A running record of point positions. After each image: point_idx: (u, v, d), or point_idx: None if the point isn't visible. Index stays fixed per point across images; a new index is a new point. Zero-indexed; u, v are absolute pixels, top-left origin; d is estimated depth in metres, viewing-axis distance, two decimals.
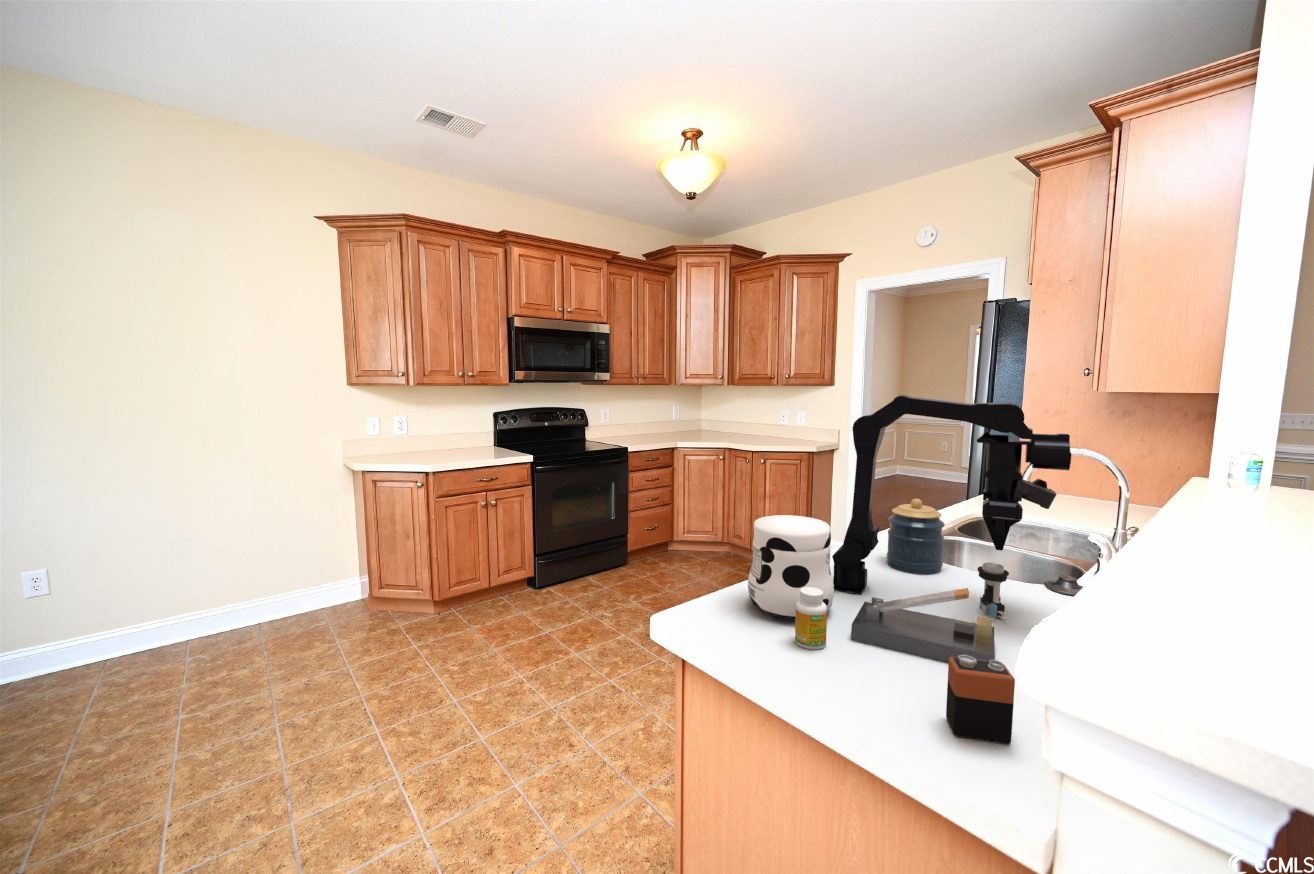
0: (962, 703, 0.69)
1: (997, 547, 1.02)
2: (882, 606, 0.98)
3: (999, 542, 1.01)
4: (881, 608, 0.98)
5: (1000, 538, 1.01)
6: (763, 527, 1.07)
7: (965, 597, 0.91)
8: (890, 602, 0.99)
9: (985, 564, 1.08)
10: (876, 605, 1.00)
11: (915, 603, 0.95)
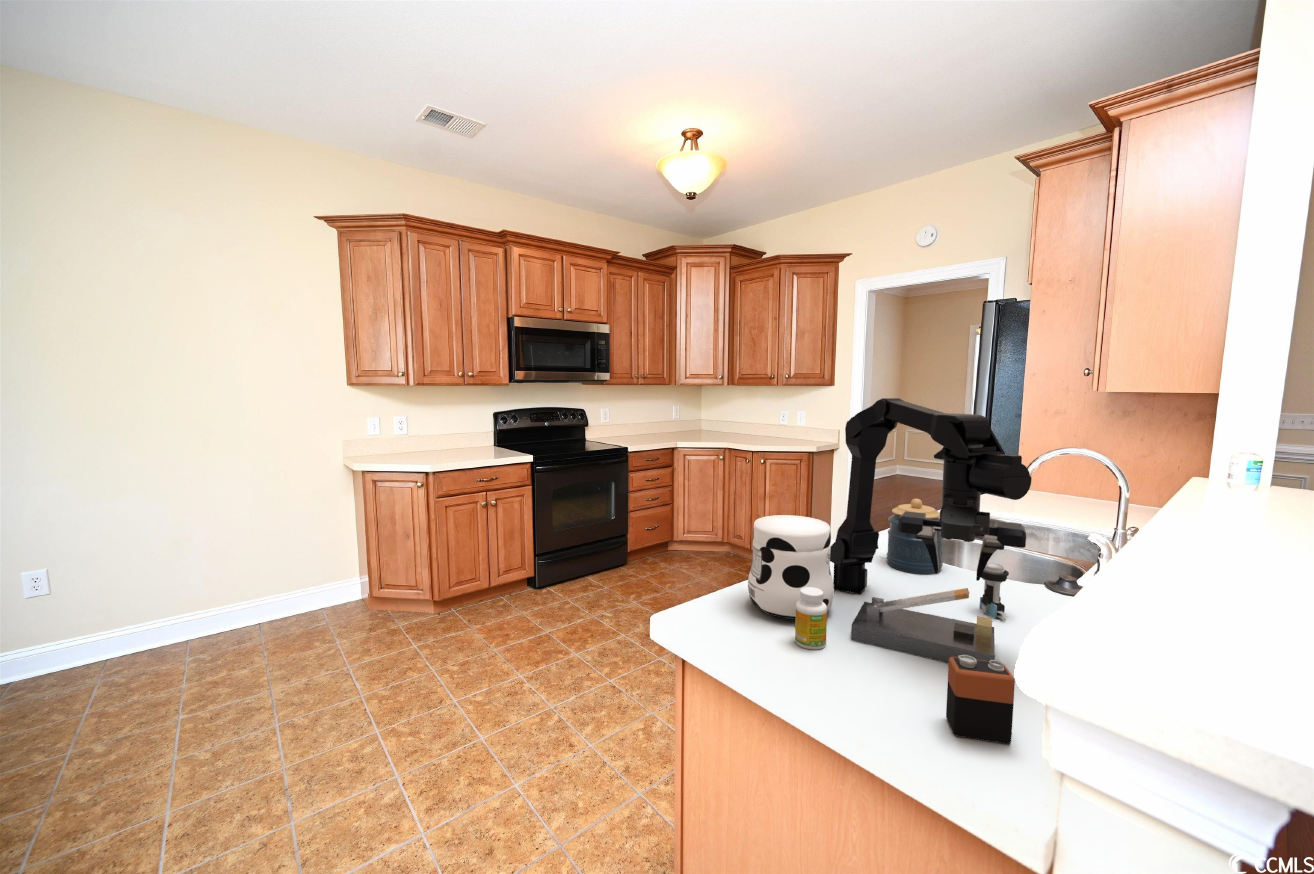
0: (962, 703, 0.69)
1: None
2: (882, 606, 0.98)
3: None
4: (881, 608, 0.98)
5: None
6: (763, 527, 1.07)
7: (965, 597, 0.91)
8: (890, 602, 0.99)
9: None
10: (876, 605, 1.00)
11: (915, 603, 0.95)
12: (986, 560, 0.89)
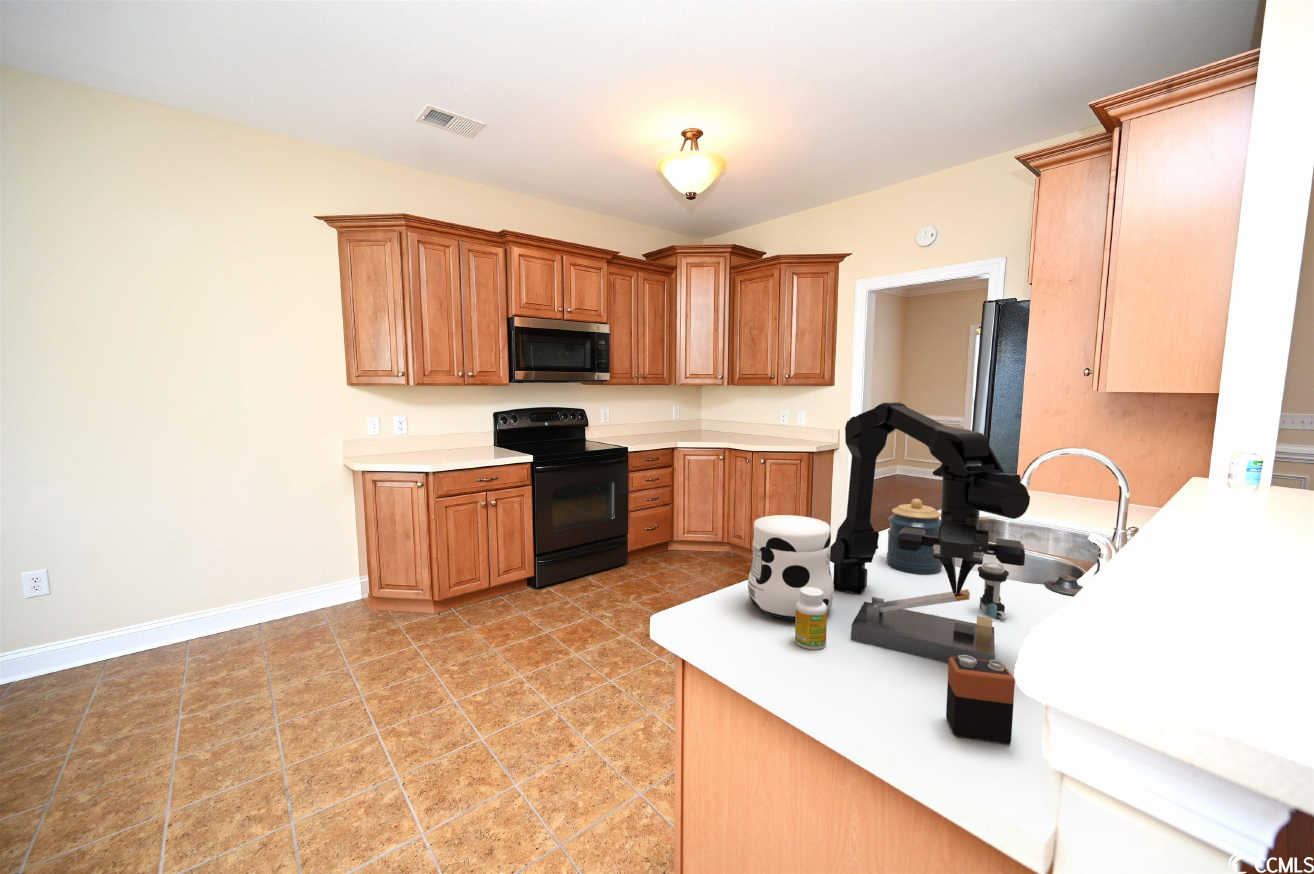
0: (962, 703, 0.69)
1: None
2: (882, 606, 0.98)
3: None
4: (881, 608, 0.98)
5: None
6: (763, 527, 1.07)
7: (965, 598, 0.91)
8: (890, 602, 0.99)
9: (985, 564, 1.08)
10: (876, 605, 1.00)
11: (915, 604, 0.95)
12: (965, 574, 0.91)
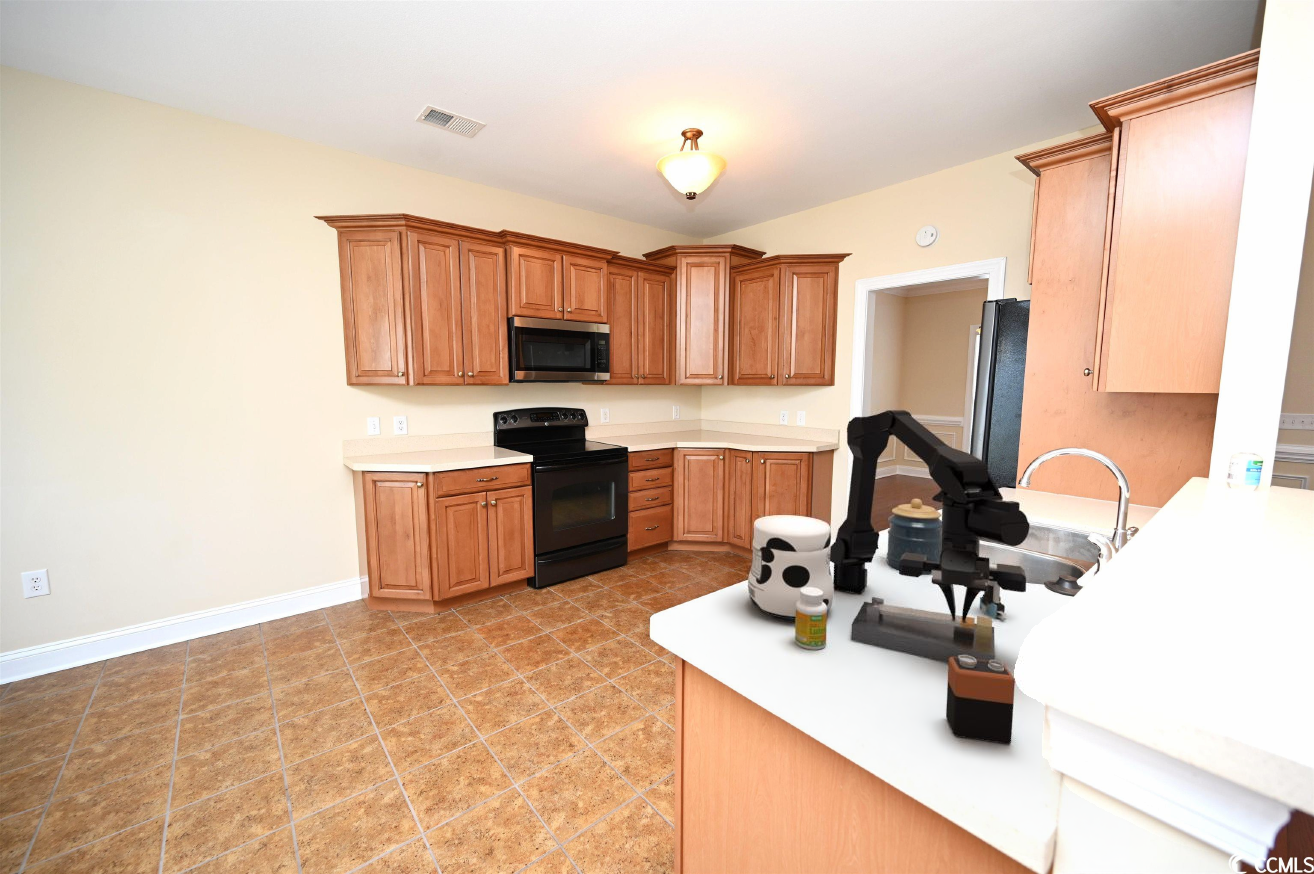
0: (962, 703, 0.69)
1: None
2: (883, 609, 0.98)
3: None
4: (882, 611, 0.98)
5: None
6: (763, 527, 1.07)
7: (971, 627, 0.91)
8: (891, 607, 0.99)
9: None
10: (877, 606, 1.00)
11: (918, 617, 0.95)
12: (971, 601, 0.90)
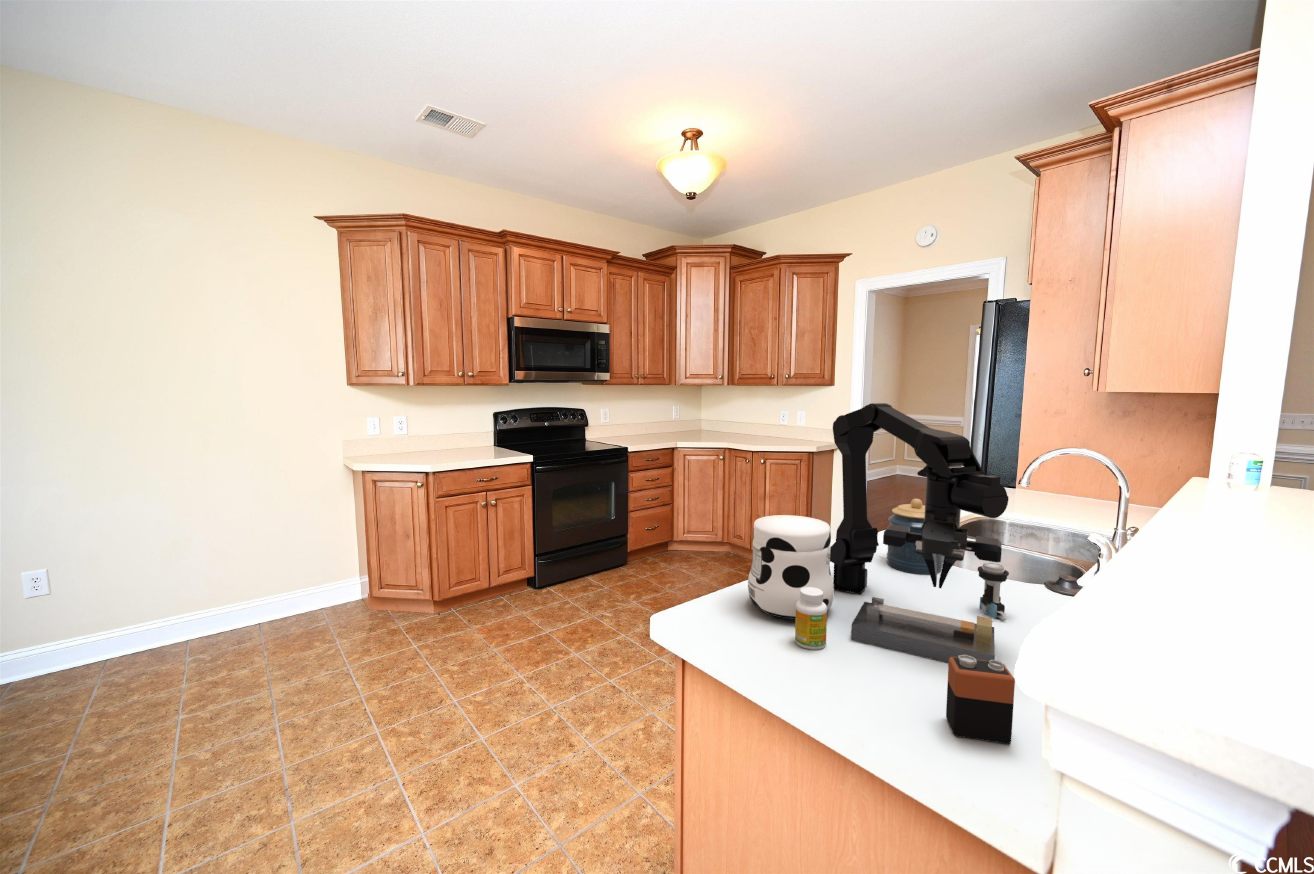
0: (962, 703, 0.69)
1: None
2: (883, 609, 0.98)
3: None
4: (882, 611, 0.98)
5: None
6: (763, 527, 1.07)
7: (970, 632, 0.91)
8: (892, 608, 0.99)
9: (985, 564, 1.08)
10: (877, 606, 1.00)
11: (918, 619, 0.95)
12: (947, 570, 0.96)
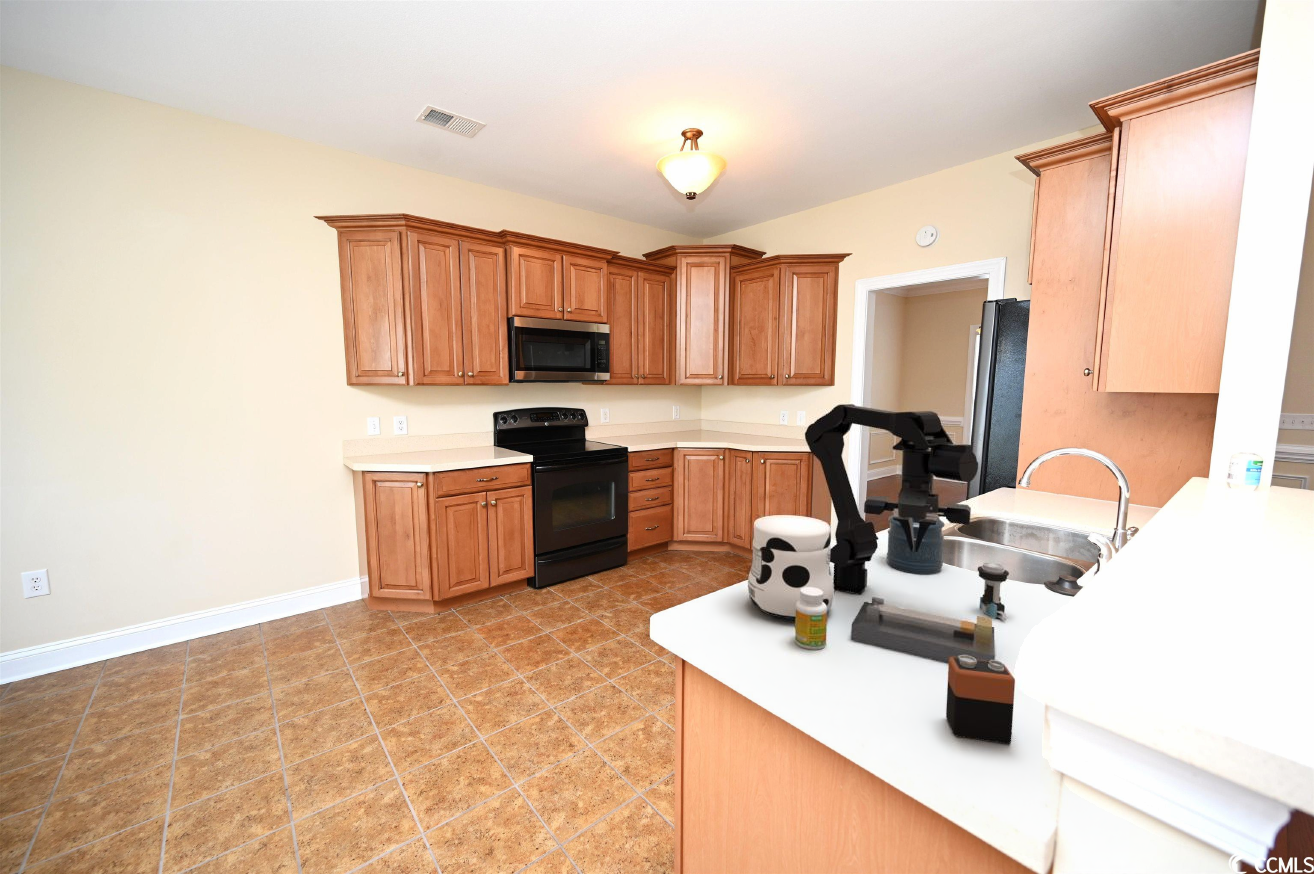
0: (962, 703, 0.69)
1: None
2: (883, 609, 0.98)
3: None
4: (882, 611, 0.98)
5: None
6: (763, 527, 1.07)
7: (970, 632, 0.91)
8: (892, 608, 0.99)
9: (985, 564, 1.08)
10: (877, 606, 1.00)
11: (918, 619, 0.95)
12: (922, 534, 1.04)
